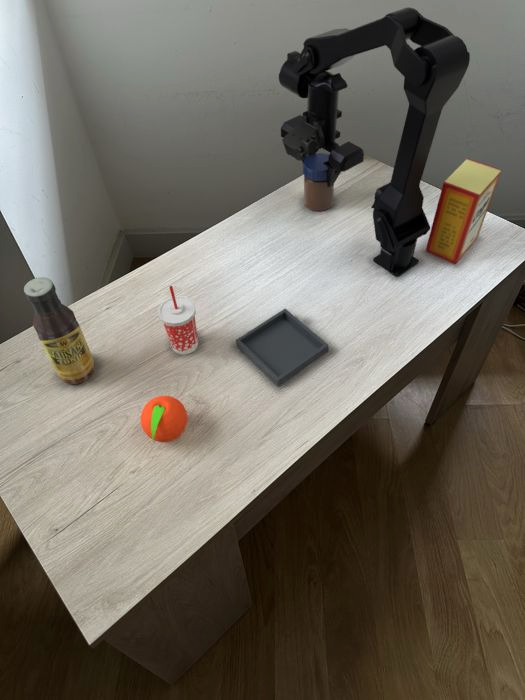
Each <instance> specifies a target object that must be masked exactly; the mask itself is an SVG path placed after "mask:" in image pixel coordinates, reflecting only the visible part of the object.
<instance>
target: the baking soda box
mask: <svg viewBox="0 0 525 700" xmlns="http://www.w3.org/2000/svg"><path fill="white" fill-rule="evenodd" d="M502 170H503V169H500V168H498V167H494V166H492V165H489V164H485V163H483V162H479V161H477V160H474V159H470V158H466V159H465V160H464V161H463V162H462V163H461V164H460V165H459V166H458V167H457V168H456V169H455V170H454V172H452V174H450V175H449V176H448V178H447V179H445V181H443V183H442V187H441V189H440V190H441V191H440V195H439V198H438V202H437V206H436V209H435V212H434V213H435V214H434V217H433V221H432V225H431V227H430V232H429V236H428V240H427V244H426V246H425V247H426V248H425V252H426V253H428V254H430V255H432V256H435V257H438V258H440V259H441V260H444V261H447V262H449V263H451V264H454V265H457V264H458V263H459V262H460V260H461V259H462V258H463V257H464V256H465V254H466V253H467V252H468V251H469V250H470V248H471V247H472V246H473V245H474V244H475V243H476V241H477V240H478V238H479V235H480V231H481V230H482V227H483V223H484V221H485V218H486V215H487V213H488V210H489V207H490V204H491V202H492V198H493V196H494V193H495V191H496V187H497V185H498V182H499V179H500V178H501V177H500V176H501V174H502Z"/></svg>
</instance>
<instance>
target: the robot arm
mask: <svg viewBox="0 0 525 700" xmlns="http://www.w3.org/2000/svg"><path fill="white" fill-rule="evenodd" d="M408 40H410V41H411V42H412V43H413V44H415V45H418V47H416V48H415V49H414V48H413V47H411V46H410V44H409V43H408V42H407V41H408ZM385 46H386V47H387V48H388V49H389V51H390V55H391V60H392V63H393V66H394V68H395V70H397V71H398V72H399V73H400V74H401V75H402V76H403V77H404V78H403V91H404V93H405V96H406V99H407V102H408V108H407V112H406V116H405V119H404V125H403V129H402V133H401V137H400V141H399V145H398V150H397V153H396V158H395V163H394V166H393V170H392V173H391V178H390V181H389V182H388V183H386V184H384V185H382V186H379V187H377V188H376V189H375V192H374V201H373V204H372V205H371V207H370V208H371V209H373V211H372V219H373V227H374V234H375V241H377V242H378V243H379V244H380V245H379V246H380V253H379V254H377V255H375V257H373V258H372V261H373V263H375V264H376V265H378V266H379V267H380V268H382V269H384V271H386V272H388V273H390V274H391V275H392V276H393V277H396V278H399V277H401V276H402V275H404V274H405V273H406V272H408V271H409V270H411V269H412V268H414V267H415V266H417V265H418V264H419V262H420V260H419V259H418V258H417V257H415V256H414V255H415V251H416V245H417V242H418V239H419V238H421V237H423V236H426V235H427V234H428V233H429V231H431V226H430V223H429V220H428V218H427V215H426V214H425V213H426V212H425V211H424V209H423V205H424V199H425V197H424V195H423V191H422V190H421V187H420V185H421V182H422V178H423V175H424V172H425V167H426V164H427V161H428V158H429V155H430V152H431V148H432V145H433V141H434V138H435V135H436V132H437V128H438V124H439V121H440V117H441V115H442V111H443V109H444V107H445V105H446V104H447V103H448V101H449V100H450V99H451V97H452V96H453V95H454V94H455V93H456V91H457V90H458V88H459V87H460V85H461V83H462V81H463V79H464V77H465V74H466V73H467V70H468V68H469V65H470V59H471V54H470V52H469V51H468V47H467V45H466V44H465V42H464V41H463V39H462V38H461V37H460V36H458V35H455V34H454V33H453V32H452V31H451V30H449V28H447V27H446V26H444V25H443V24H440V23H437V22H435V21H433V20H431V19H429V18H426V17H424V15H423V14H421V13H420V12H419V11H418V9H416V8H414V7H411V6H410V7H403V8H401V9H398V10H395V11H392V12H389V13H387V14H385V16H383V17H382V18H379V19H376V20H374V21H371V22H368V23H365V24H363V25H360V26H357V27H355V28H353V29H348V28H334V29H331V30H328V31H326V32H322V33H319V34H317V35H313V36H310V37H308V38H306V39H305V40H304V42H303V48H302V49H301V52H299V51H297V50H294V51H290V52H288V53H287V54H286V60H285V61H284V62H283V64H282V66H281V67H280V70H279V73H278V81H279V84H280V85H281V87H282V88H284V89H286V90H288V91H289V92H291V93H292V94H294V95H296V96H297V97H299V98H301V99H307V104H306V105H307V107H306V108H307V110H305V111H304V112H302V115H301V114H299V115H296V116H295V117H293V118H290V119H288V120H285V121H283V122H282V124H281V127H280V137H281V138H282V140H281V141H282V144H283V146H284V149H285V152H286V154H287V155H288V156H291V157H292V158H293V159H295V160H296V161H301V162H302V164H303V163H304V160H305V158H306V157H309V158H311V157H312V156H313V155H314V154H316V153H318V152H319V150H321V151H323V150H324V151H327V152H328V153H329V158H328V161H326V162H324V163H323V164H324V165H325V166H327V167H328V174H327V183H328V187H329V188H330V187H332V186H333V185H334V186H335V183H336V181H337V180H338V178H339V176H340V175H341V173H343V172H344V173H345V172H346V171H348V170H350V169H352V168H354V167H356V166H358V165H360V164H362V163H363V162H364V157H365V150H364V149H363V148H361V146H359V145H357V144H355V143H353V142H351V141H347V142H344V143H343V144H340V143H338V142H336V140H337V139H338V138H340V137H341V131H339V130H338V129H337V123H338V119H340V118H342V117H343V116H342V115H343V111H342V110H340V109H338V107H339V95H340V93H339V92H340V91H342V90H344V89H345V90H346V89H347V88H348V83H347V80H345V79H344V78H343V77H342V75H341V73H340V72H337V73H333V72H331V70H333V69H335V68H338V67H342V66H343V65H345V64H346V63H348V62H349V61H351V60H352V59H353V58H354V57H355V56H356V55H360V54H362V53H366V52H368V51H372V50H375V49H378V48H382V47H385Z"/></svg>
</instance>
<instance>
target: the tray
mask: <svg viewBox="0 0 525 700" xmlns="http://www.w3.org/2000/svg"><path fill="white" fill-rule="evenodd" d="M235 346H236V347H235V348H237V350H239V351H240V352H241V353H242V354H243V355H244V356H245V357H246V358H247V359H248V360H249V361H250V362H251V363H252V364H253V365H254V366H255V367H256V368H257V369H258V370H259V371H260V372H262V373H263V374H264V375H265V377H267V378H268V379H269V381H271V382H272V383H273V384H274V385H275V386H276V387H277V388H279V387H281V386H282V385H283V384H285V383H287V382H289V380H291V379H292V378H293V377H295V376H296V375H298V374H299V373H300V372H302V371H303V370H305V369H306V368H307V367H309V366H310V365H312V364H313V363H315V362H316V361H317V360H319V359H320V358H322V357H323V356H325V355H326V354H327V353H328V352H329V344H328V343H327V342H326V341H325V340H323V339H322V338H321V337H320V336H319V335H318V334H316V333H315V332H314V331H313V330H312V329H311V328H309V327H308V326H307V325H306V324H304V323H303V322H302V321H301V320H300V319H298V317H296V316H295V315H294V314H292V313H291V311H289V310H288V309H287V308H283V309H282V310H280V311H278V312H277V313H276V314H274V315H272V316H271V317H269V318H268V319H266V320H264V321H263V322H261V323H260V324H258V325H257V326H255V327H254V328H252V329H251V330H248V331H247V332H246V333H244V334H243V335H241V336H240V337H238V338H237V339H235Z"/></svg>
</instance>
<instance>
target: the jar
mask: <svg viewBox="0 0 525 700" xmlns="http://www.w3.org/2000/svg"><path fill="white" fill-rule="evenodd" d="M334 191H335V184H334V185H333V186H332V187H330V188H329V187H328V183H327V180H325V181H313V180H310V179H308V178H307V177H305V175H304V174H303V205H304V207H305V208H306V209H308V210H310V211H314V212H322V211H323V212H325V211H327V210H329V209H330V208H331V207H332V206H333V203H334V194H335V193H334Z"/></svg>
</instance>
